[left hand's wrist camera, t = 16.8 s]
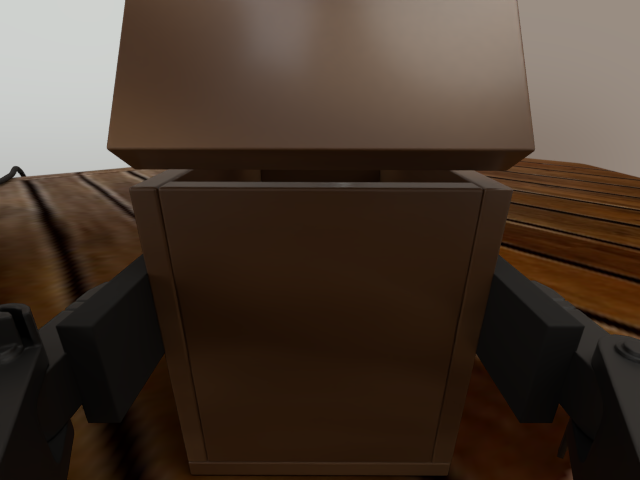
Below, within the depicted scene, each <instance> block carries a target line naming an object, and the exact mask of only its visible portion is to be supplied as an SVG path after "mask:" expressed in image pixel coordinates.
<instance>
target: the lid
mask: <svg viewBox="0 0 640 480" xmlns="http://www.w3.org/2000/svg"><path fill="white" fill-rule="evenodd" d="M107 149H108V150H109V151H110V152H112V153H113V154H115V155H116V156H117V157H119V158H120V159H121V160H123V161H124V162H126V163H127V164H128V165H130V166H131V167H133V168H134V169H205V170H480V171H506V170H508V169H510V168H511V167H512V166H514V165H515V164H517V163H518V162H519V161H521V160H522V159H524V158H525V157H527V156H528V155H529V154H531V153H532V152H534V150H535V145H534V136H533V128H532V119H531V111H530V103H529V94H528V86H527V78H526V69H525V61H524V53H523V44H522V36H521V28H520V19H519V11H518V3H517V0H125V7H124V16H123V23H122V32H121V39H120V47H119V55H118V63H117V71H116V79H115V87H114V94H113V102H112V110H111V118H110V126H109V134H108V142H107Z"/></svg>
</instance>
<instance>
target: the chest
mask: <svg viewBox="0 0 640 480" xmlns="http://www.w3.org/2000/svg"><path fill="white" fill-rule="evenodd" d="M129 192H130V196H131V201H132V205H133V210H134V214H135V219H136V224H137V228H138V233H139V237H140V242H141V247H142V251H143V256H144V260H145V265H146V269H147V274H148V279H149V283H150V288H151V292H152V297H153V301H154V306H155V311H156V315H157V320H158V324H159V329H160V333H161V338H162V342H163V347H164V351H165V356H166V361H167V366H168V370H169V375H170V379H171V384H172V389H173V393H174V398H175V402H176V407H177V411H178V416H179V421H180V425H181V430H182V434H183V439H184V444H185V448H186V453H187V457H188V461H189V467H190V471H191V474H192V475H423V476H446V475H448V472H449V468H450V463H451V460H452V456H453V452H454V447H455V443H456V439H457V434H458V430H459V425H460V421H461V417H462V412H463V408H464V403H465V399H466V395H467V390H468V386H469V381H470V377H471V373H472V368H473V364H474V360H475V355H476V350H477V346H478V341H479V337H480V332H481V328H482V323H483V319H484V315H485V310H486V306H487V301H488V297H489V292H490V288H491V283H492V279H493V274H494V272H495V267H496V263H497V259H498V254H499V250H500V245H501V241H502V237H503V232H504V228H505V223H506V219H507V215H508V210H509V206H510V202H511V197H512V193H513V189H512V188H510V187H507V186H505V185H503V184H501V183H499V182H497V181H495V180H493V179H490V178H488V177H486V176H484V175H482V174H480V173H478V172H476V171H473V170H205V169H169V170H167V171H164V172H162V173H160V174H158V175H156V176H154V177H152V178H149V179H147V180H145V181H143V182H141V183H139V184H137V185H134V186H132V187H130V189H129Z"/></svg>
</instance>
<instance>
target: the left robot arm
mask: <svg viewBox="0 0 640 480" xmlns="http://www.w3.org/2000/svg"><path fill="white" fill-rule="evenodd" d="M16 172H18V173H19V174H20V176H21V177H25V176H26V175H25V173H24V172H23V171H22V169H21V168H19V167H17V166H14V167H13V168H12V169H11V171H10V173H9V174H7V175H5V176H4V177H2V178H0V184H2V183H4V182H6V181H8V180H9V179H11V178H12V177H14V176H15V174H16ZM164 353H165V351H164V347H163V342H162V338H161V333H160V329H159V324H158V320H157V315H156V311H155V306H154V301H153V297H152V292H151V288H150V283H149V279H148V274H147V269H146V265H145V260H144V256H143V254H142V255H141V256H140V257H138V258H137V259H136V260H135V261H134V262H132V263H131V264H130V265H129V266H127V267H126V268H125V269H124V270H123V271H121V272H120V273H119V274H118V275H117V276H115V277H114V278H113V279H112V280H111V281H109V282H105V283H103V284H101V285H99V286H96V287H94V288H92V289H90V290H88V291H87V292H86V293H85V294H83V295H82V296H81V297H80V298H78V299H77V300H76V302H73V303H72V304H71V305H69V306H68V307H67V308H66V310H65V311H62V312H61V313H59V314H58V315H57V316H56V317H54V318H53V319H52V320H50V321H49V322H48V323H47V324H45V325H44V326H43V327H42V328H40V329H39V330H38V329H37V326H36V323H35V321H34V318H33V315H32V312H31V310H30V307H29V306H27V305H25V304H18V303H10V304H3V305H0V480H67V476H68V469H69V463H70V457H71V450H72V444H73V438H74V429H73V425H72V422H71V419H70V418H71V417H72V416H73V415H74V413H75V412H76V411H77V410H78V408H79V407H80V406H81V405H82V406H83V409H84V412H85V415H86V417H87V420H88V423H121V421H122V419H123V418H124V416H125V415H126V413H127V411H128V410H129V408H130V407H131V405H132V404H133V402H134V400H135V399H136V397H137V396H138V394H139V392H140V391H141V389H142V388H143V386H144V385H145V383H146V381H147V380H148V378H149V377H150V375H151V373H152V372H153V370H154V369H155V367H156V366H157V364H158V362H159V361H160V359H161V358H162V356H163V355H164ZM476 354H477V355H478V357H479V359H480V360H481V362H482V363H483V365H484V367H485V368H486V370H487V371H488V373H489V374H490V376H491V378H492V379H493V381H494V382H495V384H496V386H497V387H498V389H499V390H500V392H501V393H502V395H503V397H504V398H505V400H506V401H507V403H508V405H509V406H510V408H511V409H512V411H513V412H514V414H515V416H516V417H517V419H518V420H519V422H520V423H552V422H553V419H554V416H555V413H556V410H557V407H558V404H560V405H561V406H562V407H563V408H564V410H565V411H566V412H567V413H568V415H569V416H570V419H569V422H568V425H567V427H566V430H565V433H564V436H563V438H562V441H561V444H560V447H559V450H558V455H557V457H560V458H562V459H563V457H564V455H565V452H566V451H567V450H569V456H570V462H571V468H572V474H573V480H640V340H639V339H636V338H632V337H629V336H622V335H616V334H614V335H610V334H609V333H607V332H606V331H605V330H604V329H602V328H601V327H600V326H599V325H597V324H596V323H595V322H593V321H592V320H591V319H590V318H588V317H587V316H586V315H585V314H583V313H582V312H581V311H579V310H576V309H575V307H574V306H573V305H572V304H571V303H569V302H568V301H565V299H564V298H563V297H562V296H560V295H559V294H558V293H557V292H555V291H554V290H553V289H551V288H549V287H547V286H545V285H543V284H541V283H538V282H536V281H530V280H529V279H527V278H526V277H525V276H524V275H523V274H521V273H520V272H519V271H518V270H517V269H515V268H514V267H513V266H512V265H511V264H509V263H508V262H507V261H506V260H504V259H503V258H502V257H501V256H500V255H498V259H497V263H496V267H495V272H494V274H493V279H492V283H491V288H490V292H489V297H488V301H487V306H486V310H485V315H484V319H483V323H482V328H481V332H480V337H479V341H478V346H477V350H476Z"/></svg>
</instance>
